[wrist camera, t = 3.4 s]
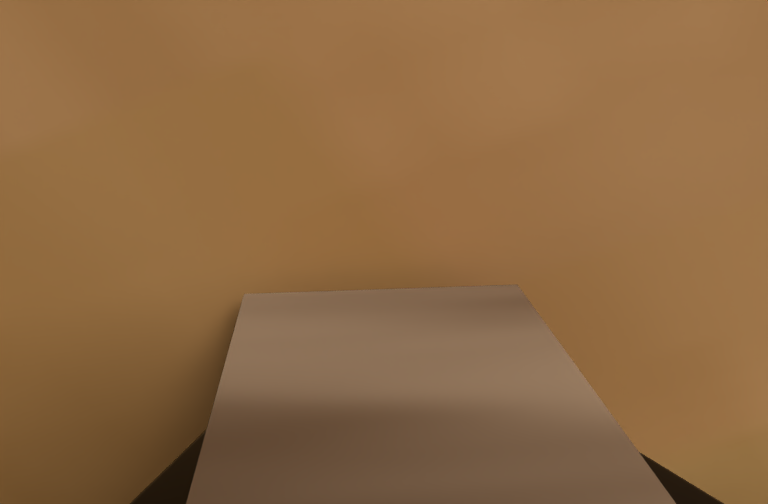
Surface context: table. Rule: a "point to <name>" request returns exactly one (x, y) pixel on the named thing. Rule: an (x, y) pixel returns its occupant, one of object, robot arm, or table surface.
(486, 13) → the table surface
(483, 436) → the taupe block mallet
